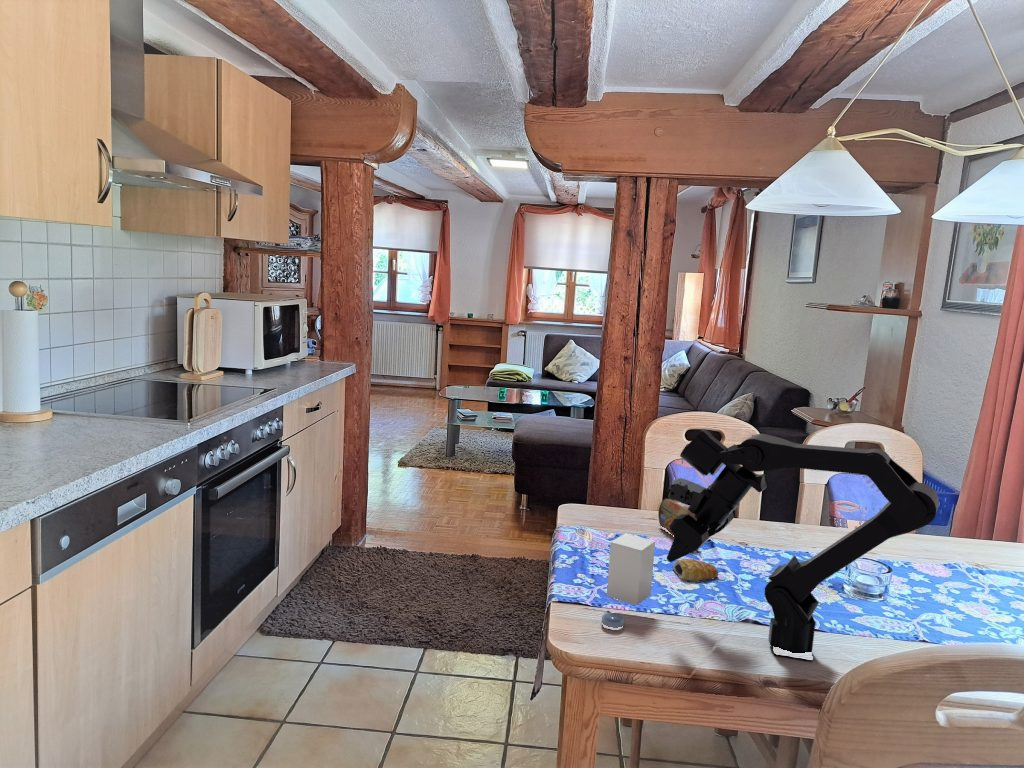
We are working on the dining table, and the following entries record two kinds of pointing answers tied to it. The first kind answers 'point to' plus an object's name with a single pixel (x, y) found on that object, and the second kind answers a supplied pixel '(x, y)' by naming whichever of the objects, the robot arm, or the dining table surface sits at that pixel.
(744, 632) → the dining table surface
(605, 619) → the dark grey round puck
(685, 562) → the pastry
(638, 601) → the tall white rectangular prism
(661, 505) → the tin
